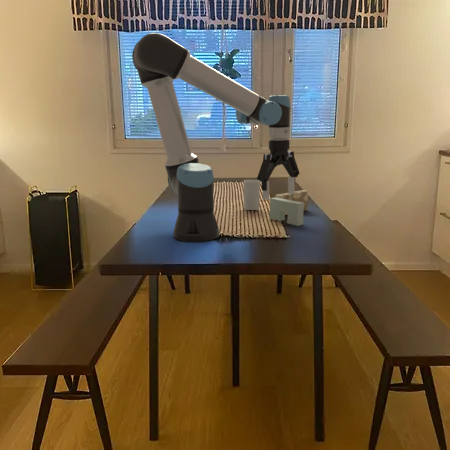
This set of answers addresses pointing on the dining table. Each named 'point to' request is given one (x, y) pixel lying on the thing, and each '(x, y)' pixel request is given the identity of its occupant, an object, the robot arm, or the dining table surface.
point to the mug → (251, 194)
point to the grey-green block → (287, 210)
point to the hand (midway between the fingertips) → (278, 196)
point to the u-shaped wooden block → (296, 197)
